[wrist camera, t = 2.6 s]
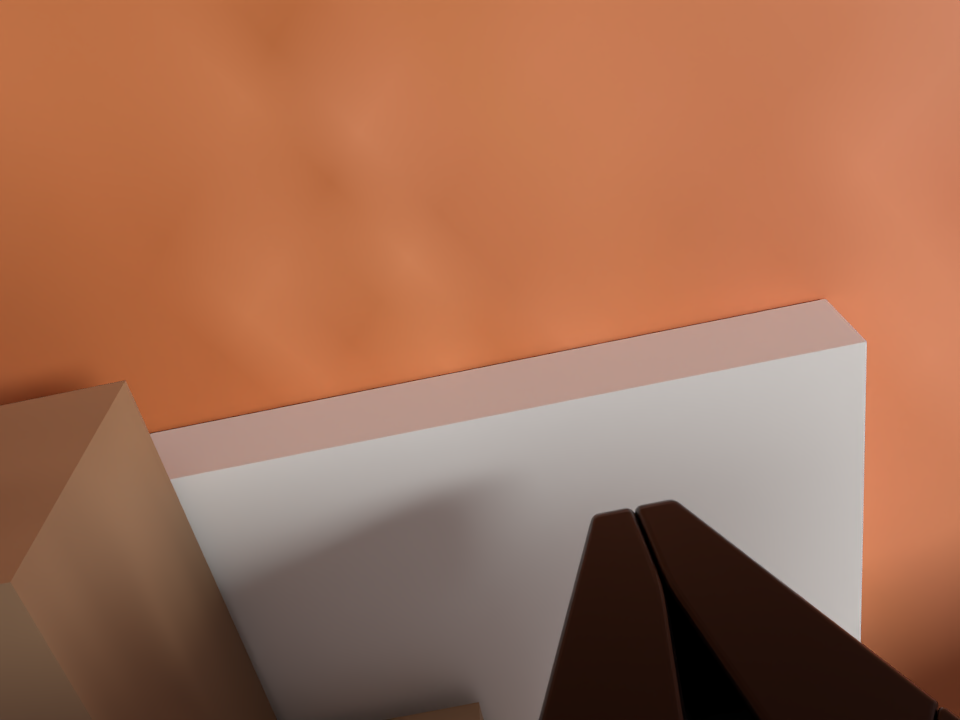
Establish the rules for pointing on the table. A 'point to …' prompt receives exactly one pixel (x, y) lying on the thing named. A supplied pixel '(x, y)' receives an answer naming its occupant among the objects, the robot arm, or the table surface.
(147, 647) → the block
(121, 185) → the table surface
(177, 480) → the board
